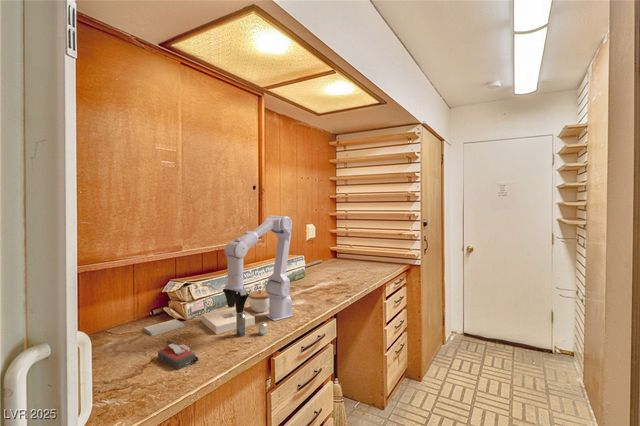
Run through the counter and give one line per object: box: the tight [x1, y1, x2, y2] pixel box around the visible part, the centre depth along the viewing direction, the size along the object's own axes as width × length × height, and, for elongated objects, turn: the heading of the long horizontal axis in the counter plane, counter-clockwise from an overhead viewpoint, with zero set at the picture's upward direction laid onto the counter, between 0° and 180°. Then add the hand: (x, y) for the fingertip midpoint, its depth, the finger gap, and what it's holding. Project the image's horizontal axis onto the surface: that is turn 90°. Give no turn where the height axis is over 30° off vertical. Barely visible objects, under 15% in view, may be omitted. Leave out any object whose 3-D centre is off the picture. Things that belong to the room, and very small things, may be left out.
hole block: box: [201, 306, 256, 335], centre depth 131 cm, size 16×16×3 cm
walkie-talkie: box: [157, 339, 199, 371], centre depth 103 cm, size 9×4×20 cm
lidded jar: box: [248, 289, 269, 313], centre depth 147 cm, size 11×11×9 cm
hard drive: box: [142, 318, 185, 337], centre depth 125 cm, size 2×8×12 cm
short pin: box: [257, 321, 268, 337], centre depth 121 cm, size 3×3×4 cm
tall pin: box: [235, 313, 246, 338], centre depth 120 cm, size 3×3×8 cm
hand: (235, 309), depth 120 cm, fingers open, 7 cm apart
